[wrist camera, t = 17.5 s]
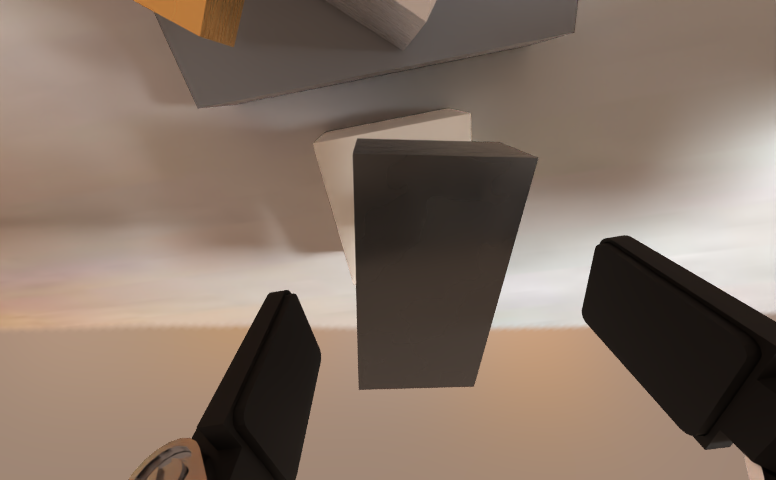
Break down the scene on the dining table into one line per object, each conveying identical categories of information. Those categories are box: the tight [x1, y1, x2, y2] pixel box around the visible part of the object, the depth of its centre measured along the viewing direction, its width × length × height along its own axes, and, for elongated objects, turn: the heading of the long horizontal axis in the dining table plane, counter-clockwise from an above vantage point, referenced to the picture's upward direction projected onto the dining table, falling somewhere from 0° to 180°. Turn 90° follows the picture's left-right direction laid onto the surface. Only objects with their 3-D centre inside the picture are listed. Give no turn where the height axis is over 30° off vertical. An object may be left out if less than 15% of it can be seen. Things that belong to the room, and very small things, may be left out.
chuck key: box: [353, 138, 538, 390], centre depth 14 cm, size 5×9×11 cm, turn 178°
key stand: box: [313, 108, 472, 285], centre depth 18 cm, size 8×9×4 cm
